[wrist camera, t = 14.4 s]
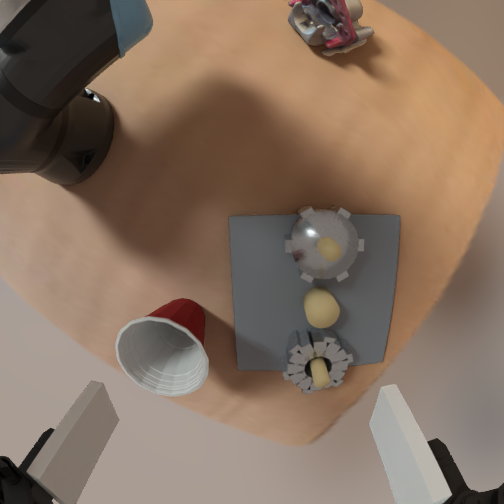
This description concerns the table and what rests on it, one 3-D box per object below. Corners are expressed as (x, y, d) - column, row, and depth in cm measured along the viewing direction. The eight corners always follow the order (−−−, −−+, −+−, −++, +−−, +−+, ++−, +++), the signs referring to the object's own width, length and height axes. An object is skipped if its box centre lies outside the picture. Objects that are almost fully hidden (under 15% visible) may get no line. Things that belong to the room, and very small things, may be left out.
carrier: (238, 364, 40) (232, 401, 32) (230, 215, 35) (218, 223, 27) (379, 357, 39) (397, 389, 30) (395, 214, 34) (426, 222, 26)
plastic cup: (214, 357, 40) (197, 411, 28) (148, 334, 40) (113, 378, 28) (233, 295, 38) (218, 339, 26) (159, 270, 38) (118, 302, 26)
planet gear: (280, 378, 39) (281, 395, 35) (281, 324, 37) (282, 338, 33) (342, 374, 38) (347, 390, 34) (349, 320, 36) (357, 334, 32)
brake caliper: (258, 9, 27) (310, -48, 16) (306, 13, 32) (353, -28, 21) (307, 65, 28) (374, 11, 18) (348, 63, 34) (404, 25, 23)
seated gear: (283, 273, 35) (285, 283, 31) (282, 205, 33) (284, 207, 29) (352, 271, 35) (361, 281, 31) (354, 205, 33) (364, 207, 29)
